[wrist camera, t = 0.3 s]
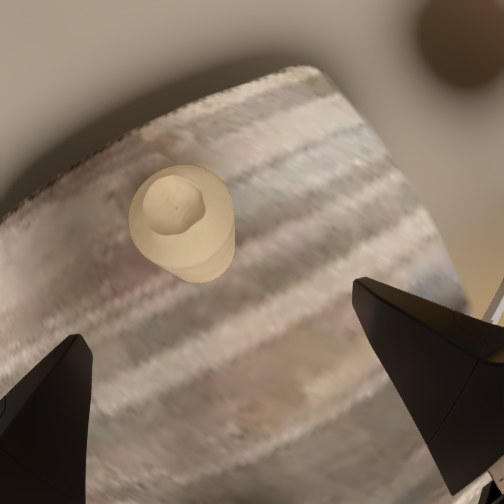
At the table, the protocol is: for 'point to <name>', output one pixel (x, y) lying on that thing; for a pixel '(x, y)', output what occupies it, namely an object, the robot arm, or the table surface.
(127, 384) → the table surface
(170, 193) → the candle
